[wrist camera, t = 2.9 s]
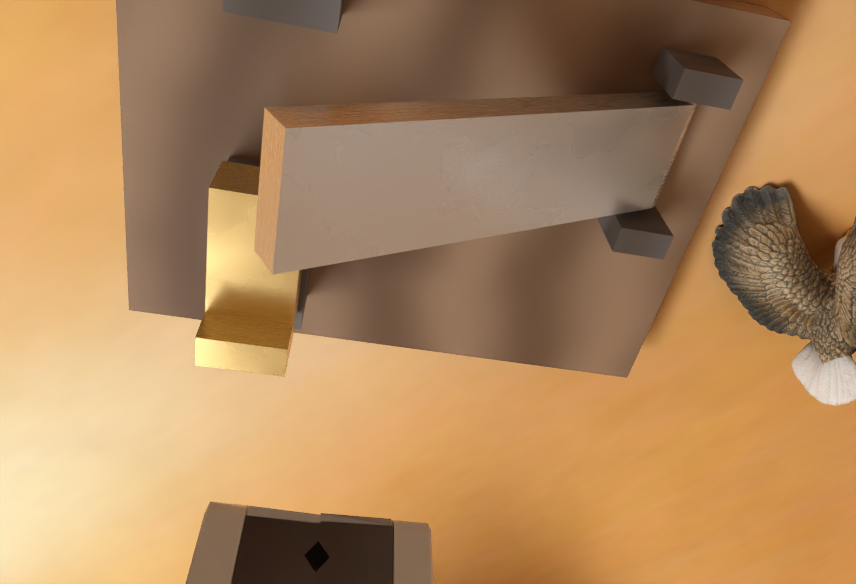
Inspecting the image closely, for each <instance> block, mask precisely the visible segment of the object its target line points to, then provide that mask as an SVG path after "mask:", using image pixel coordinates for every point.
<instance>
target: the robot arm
mask: <svg viewBox="0 0 856 584" xmlns="http://www.w3.org/2000/svg"><path fill="white" fill-rule="evenodd" d="M186 584H433V566H432V546H431V530H430V528H429V526H428V524H427V523H417V522H406V521H395V520H393V521H391V519H384V518H372V517H360V516H348V515H336V514H324V513H321V515H318V514H310V513H302V512H294V511H286V510H278V509H270V508H262V507H254V506H249V507H248V506H246V505H236V504H227V503H217V502H210V503H209V505H208V507H207V509H206V511H205V514H204V518H203V521H202V525H201V529H200V532H199V536H198V540H197V543H196V547H195V551H194V555H193V558H192V562H191V566H190V569H189V573H188V577H187V580H186Z"/></svg>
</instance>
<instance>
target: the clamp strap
mask: <svg viewBox="0 0 856 584" xmlns="http://www.w3.org/2000/svg"><path fill="white" fill-rule="evenodd" d="M696 106H697V104H696V103H691V102H686V101H680V100H675V99H672V98H671V97H670V95H669V94H668V93H667V92H648V93H622V94H597V95H571V96H545V97H520V98H494V99H468V100H443V101H417V102H391V103H366V104H340V105H314V106H289V107H264V120H263V134H262V148H261V162H260V175H259V189H258V203H257V217H256V230H255V244H254V251H255V252H256V254H257V255H258V256H259V258H260V259H261V260H262V262H263V263H264V264H265V266H266V267H267V268H268V270H269V271H270V272H271V274H272V275H274V274H279V273H285V272H291V271H297V270H302V269H308V268H314V267H319V266H325V265H331V264H336V263H342V262H348V261H354V260H359V259H365V258H371V257H376V256H382V255H388V254H393V253H399V252H405V251H410V250H416V249H422V248H428V247H433V246H439V245H445V244H450V243H456V242H462V241H467V240H473V239H479V238H485V237H490V236H496V235H502V234H507V233H513V232H519V231H524V230H530V229H536V228H542V227H547V226H553V225H559V224H564V223H570V222H576V221H581V220H587V219H593V218H599V217H604V216H610V215H616V214H621V213H627V212H633V211H638V210H644V209H650V208H653V207H654V206H655V204H656V202H657V199H658V197H659V194H660V192H661V190H662V187H663V185H664V182H665V180H666V178H667V175H668V173H669V170H670V168H671V166H672V163H673V161H674V159H675V156H676V154H677V151H678V149H679V147H680V144H681V142H682V139H683V137H684V135H685V132H686V130H687V127H688V125H689V123H690V120H691V118H692V115H693V113H694V111H695V108H696Z"/></svg>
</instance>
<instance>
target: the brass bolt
mask: <svg viewBox="0 0 856 584" xmlns="http://www.w3.org/2000/svg"><path fill="white" fill-rule="evenodd" d="M259 175H260V167H258V166H252V165H246V164H240V163H234V162H228V161H222V162H221V164H220V166H219V168H218V170H217V172H216V174H215V176H214V178H213V180H212V182H211V184H210V186H209V198H208V231H207V264H206V297H205V314H204V316H203V319H202V322H201V324H200V327H199V329H198V332H197V335H196V337H195V365H197V366H205V367H213V368H221V369H228V370H236V371H244V372H252V373H260V374H268V375H275V376H283V377H285V372H286V367H287V362H288V357H289V352H290V347H291V343H292V338H293V333H294V328H295V323H296V318H297V310H298V301H299V293H300V284H301V276H302V270H297V271H291V272H285V273H279V274H274V275H272V274H271V272H270V271H269V270H268V268H267V267H266V266H265V264H264V263H263V262H262V260H261V259H260V258H259V256H258V255H257V254H256V252H255V251H254V244H255V230H256V217H257V203H258V189H259Z"/></svg>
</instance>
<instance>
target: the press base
mask: <svg viewBox="0 0 856 584" xmlns="http://www.w3.org/2000/svg"><path fill="white" fill-rule="evenodd" d="M116 10H117V33H118V57H119V81H120V105H121V129H122V153H123V177H124V200H125V224H126V248H127V272H128V296H129V310H133V311H140V312H148V313H155V314H162V315H170V316H177V317H184V318H192V319H199V320H202V319H203V316H204V314H205V297H206V264H207V231H208V198H209V186H210V184H211V182H212V180H213V178H214V176H215V174H216V172H217V170H218V168H219V166H220V164H221V162H222V161H228V162H234V163H240V164H246V165H252V166H258V167H260V162H261V148H262V134H263V120H264V107H289V106H314V105H340V104H366V103H391V102H417V101H443V100H468V99H494V98H520V97H545V96H571V95H597V94H622V93H648V92H667V93H668V94H669V95H670V97H671V98H672V99H675V100H680V101H686V102H691V103H696V104H697V106H696V108H695V111H694V113H693V115H692V118H691V120H690V123H689V125H688V127H687V130H686V132H685V135H684V137H683V139H682V142H681V144H680V147H679V149H678V151H677V154H676V156H675V159H674V161H673V163H672V166H671V168H670V170H669V173H668V175H667V178H666V180H665V182H664V185H663V187H662V190H661V192H660V194H659V197H658V199H657V202H656V204H655V206H654V207H653V208H650V209H644V210H638V211H633V212H627V213H621V214H616V215H610V216H604V217H599V218H593V219H587V220H581V221H576V222H570V223H564V224H559V225H553V226H547V227H542V228H536V229H530V230H524V231H519V232H513V233H507V234H502V235H496V236H490V237H485V238H479V239H473V240H467V241H462V242H456V243H450V244H445V245H439V246H433V247H428V248H422V249H416V250H410V251H405V252H399V253H393V254H388V255H382V256H376V257H371V258H365V259H359V260H354V261H348V262H342V263H336V264H331V265H325V266H319V267H314V268H308V269H302V276H301V284H300V293H299V301H298V310H297V318H296V323H295V328H294V332H295V333H302V334H310V335H317V336H324V337H332V338H339V339H346V340H354V341H361V342H368V343H376V344H383V345H391V346H398V347H405V348H413V349H420V350H427V351H435V352H442V353H449V354H457V355H464V356H472V357H479V358H486V359H494V360H501V361H508V362H516V363H523V364H530V365H538V366H545V367H553V368H560V369H567V370H575V371H582V372H589V373H597V374H604V375H612V376H619V377H626V378H627V377H628V374H629V372H630V370H631V368H632V366H633V364H634V361H635V359H636V357H637V355H638V353H639V351H640V348H641V346H642V344H643V342H644V340H645V338H646V335H647V333H648V331H649V329H650V327H651V325H652V322H653V320H654V318H655V316H656V314H657V312H658V309H659V307H660V305H661V303H662V301H663V299H664V296H665V294H666V292H667V290H668V288H669V286H670V283H671V281H672V279H673V277H674V275H675V273H676V270H677V268H678V266H679V264H680V262H681V260H682V257H683V255H684V253H685V251H686V249H687V247H688V245H689V242H690V240H691V238H692V236H693V234H694V232H695V229H696V227H697V225H698V223H699V221H700V219H701V216H702V214H703V212H704V210H705V208H706V206H707V203H708V201H709V199H710V197H711V195H712V193H713V190H714V188H715V186H716V184H717V182H718V180H719V177H720V175H721V173H722V171H723V169H724V167H725V164H726V162H727V160H728V158H729V156H730V154H731V151H732V149H733V147H734V145H735V143H736V141H737V138H738V136H739V134H740V132H741V130H742V128H743V125H744V123H745V121H746V119H747V117H748V115H749V112H750V110H751V108H752V106H753V104H754V102H755V99H756V97H757V95H758V93H759V91H760V89H761V86H762V84H763V82H764V80H765V78H766V76H767V73H768V71H769V69H770V67H771V65H772V63H773V60H774V58H775V56H776V54H777V52H778V50H779V48H780V45H781V43H782V41H783V39H784V37H785V35H786V32H787V30H788V28H789V26H790V24H791V21H790V20H788V19H786V18H785V17H783V16H781V15H779V14H778V13H776V12H774V11H772V10H771V9H769V8H767V7H763V6H759V5H754V4H749V3H745V2H740V1H735V0H116Z"/></svg>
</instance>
